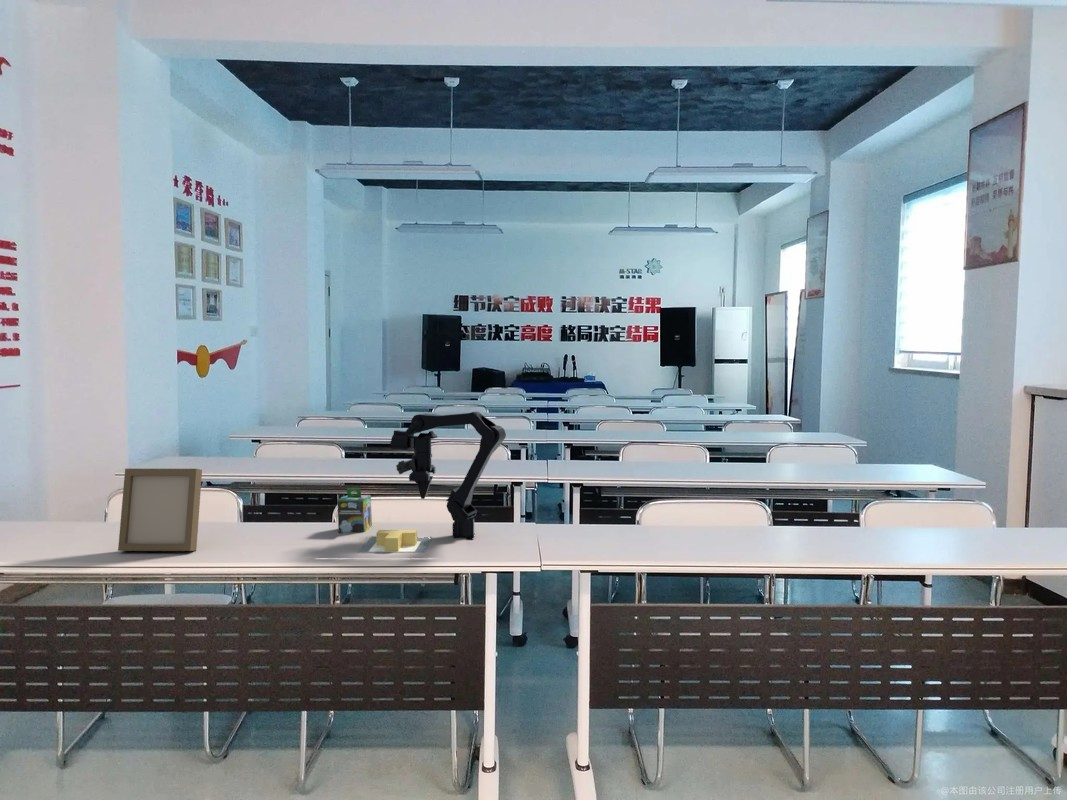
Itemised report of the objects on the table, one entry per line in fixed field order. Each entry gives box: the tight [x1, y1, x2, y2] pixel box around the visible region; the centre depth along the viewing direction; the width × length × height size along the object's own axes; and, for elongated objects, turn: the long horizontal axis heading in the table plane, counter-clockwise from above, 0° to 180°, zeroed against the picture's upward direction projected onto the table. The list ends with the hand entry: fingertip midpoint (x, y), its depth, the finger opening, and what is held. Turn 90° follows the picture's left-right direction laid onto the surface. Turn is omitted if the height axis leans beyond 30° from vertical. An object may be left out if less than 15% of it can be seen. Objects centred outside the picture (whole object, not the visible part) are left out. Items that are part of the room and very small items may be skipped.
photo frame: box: [117, 468, 203, 552], centre depth 250 cm, size 15×22×25 cm
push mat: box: [357, 536, 433, 554], centre depth 254 cm, size 20×21×1 cm
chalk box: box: [337, 487, 373, 533], centre depth 275 cm, size 9×9×15 cm
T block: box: [375, 529, 418, 551], centre depth 250 cm, size 12×11×4 cm
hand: (422, 498), depth 269 cm, fingers closed
